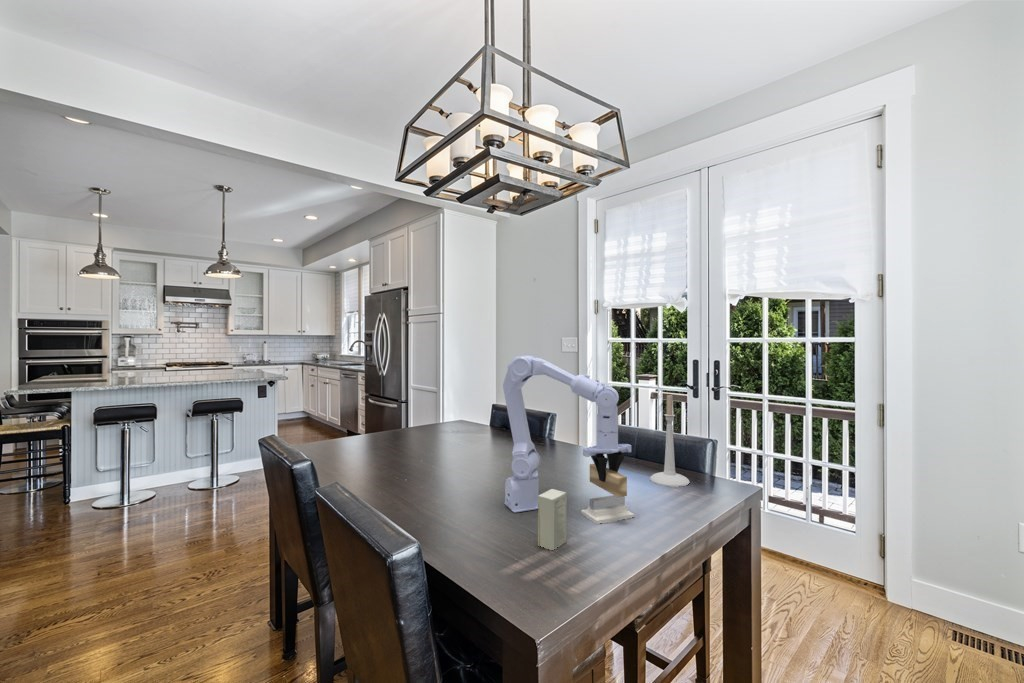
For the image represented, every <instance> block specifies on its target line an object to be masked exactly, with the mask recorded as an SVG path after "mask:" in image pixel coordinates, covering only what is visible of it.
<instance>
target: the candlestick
mask: <svg viewBox="0 0 1024 683" xmlns="http://www.w3.org/2000/svg"><path fill="white" fill-rule="evenodd" d="M673 399H674V398H673V395H672V394H668V395H666V413H665V414H663V416H665V420H666V423H667V424H666V431H665V434H666V435H665V453H664V467H663V468H664V469H663V471H661V472H655V473H653V474H652V475H651V476H650V477H649V481H650V480H651V481H652V483H653V482H654V483H653V484H655V483H656V484H655V485H657V484H660V485H659V486H661V485H664V486H663V487H666V486H670V487H669V488H680V487H679V486H685V487H687V486H686V485H688V484H689V483H690V479H689V478H687V477H686V476H685V475H682V474H680V473H677V472H676V462H675V445H674V428H673V426H674V425H673V421H675V419H674V417H676V415H675V414H673V413H674V411H673V410H674V409H673V408H674V405H673V404H674V403H673V401H674V400H673ZM651 481H650V482H651ZM689 485H690V484H689ZM689 485H688V486H689Z"/></svg>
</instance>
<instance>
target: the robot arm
mask: <svg viewBox="0 0 1024 683" xmlns="http://www.w3.org/2000/svg"><path fill="white" fill-rule="evenodd" d="M542 375H543V376H547V377H549V378H551V379H553V380H556V381H558V382H561V383H563V384H565V385H568V386H569V387H570V389H571V392H572V393H573V394H576V395H577V396H579V397H581V398H583V399H585V400H587V401H590V402H591V403H595V405H596V406H597V414H596V445H592V446H589V447H584V448H582V457H583V456H584V457H585V458H589V457H591V459H592V461H593V464H595V466H596V469H597V472H598V476H599V480H600V481H602V482H605V480H606V467H607V465H608V468H609V469H611V470H613V471H615V472H617V473H619V472H618V471H619V469H620V466H621V464H622V463H623V461H624V460H625V455H624V454H623V453H632V445H631V444H629V443H619V414H618V413H619V412H618V411H619V409H618V408H619V407H618V402H619V398H620V397H619V393H618V391H617V390H616V388H613V386H611V385H606V383H604V382H601V383H600V382H599V381H597V380H594V379H593V378H590V377H591V375H589V374H588V373H585V374H577V375H574V374H572V373H570V372H569V371H566V370H565V369H562V368H561V367H560V366H557V365H555V364H553V363H552V362H550V361H548V360H545V359H543V358H540V357H536V356H534V355H532V354H526V355H518V356H515V357H514V358H513V359H512V360H511V361H510V362H509V363H508V365H507V370H506V374H505V377H504V380H503V383H502V388H503V395H504V399H505V404H506V409H507V416H508V420H509V425H510V431H511V436H512V441H513V447H512V453H511V454H512V460H511V461H512V462H511V466H510V467H511V471H512V474H513V476H510V477H507V478H506V479H505V483H504V503H503V504H504V505H505V506H506V507H507V508H508V509H509V510H511V512H513V513H520V512H527V511H534V510H535V511H536V510H538V495H540V494H539V491H540V490H539V489H540V488H539V486H540V485H539V484H540V483H539V471H538V469H537V468H539V466H540V464H541V457H540V456H541V455H539V453H538V452H537V449H536V446H535V444H534V442H533V441H532V439H531V432H530V427H529V422H528V418H527V413H526V406H525V401H524V397H523V391H522V387H523V386H524V385H525V384H526V383H527V381H528V380H529V379H531V378H532V377H533V376H542ZM605 455H606V456H607V457H606V456H605Z"/></svg>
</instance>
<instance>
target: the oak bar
mask: <svg viewBox="0 0 1024 683" xmlns="http://www.w3.org/2000/svg"><path fill="white" fill-rule="evenodd" d="M589 483H592V484H593V485H595V486H597V487H599V488H601V489H602V490H604V491H606V492H607V493H609V494H611V495H615V496H616V497H623V496H625V497H627V496H628V477H627V476H626V475H624V474H621V473H619V472H618V473H617V472H615V471H613V470H611V469H609V467H607V466H606V480H605V482H602V481H600V480H599V476H598V472H597V469H596V466H595V464H594V463H592V464H591V463H590V464H589Z"/></svg>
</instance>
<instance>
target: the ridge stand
mask: <svg viewBox="0 0 1024 683" xmlns="http://www.w3.org/2000/svg"><path fill="white" fill-rule="evenodd" d="M625 497H626V496H623V497H616V496H615V495H613V494H611V495H607V496H601V497H600V496H599V497H593V498H589V506H587V508H586V509H581V510H580V514H581V513H582V514H583V515H582V514H581V515H582V516H584V517H585V516H586V517H585V518H587V519H588V518H589V519H590V520H589V519H588V520H589V521H591V520H592V521H593V523H594V524H595V525H600V523H602V524H606V523H607V522H608V523H614V522H619V521H623V520H622V519H625V520H628V519H627V518H631V519H633V518H632V517H634V518H635V513H633V512H631V511H629V510H628V506H627V505H625V504H626V498H625ZM618 520H619V521H618ZM592 521H591V522H592ZM613 521H614V522H613ZM608 523H607V524H608Z"/></svg>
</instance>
